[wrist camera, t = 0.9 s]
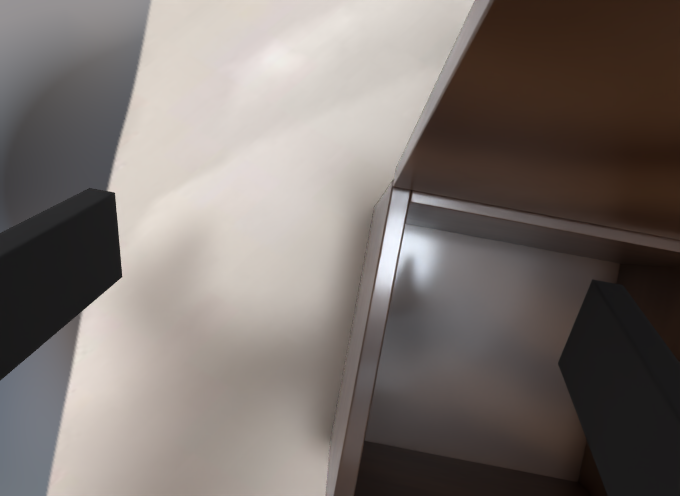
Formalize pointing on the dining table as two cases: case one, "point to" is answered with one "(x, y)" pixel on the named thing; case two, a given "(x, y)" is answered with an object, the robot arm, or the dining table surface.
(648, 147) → the lid
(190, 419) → the dining table surface
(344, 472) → the bin
